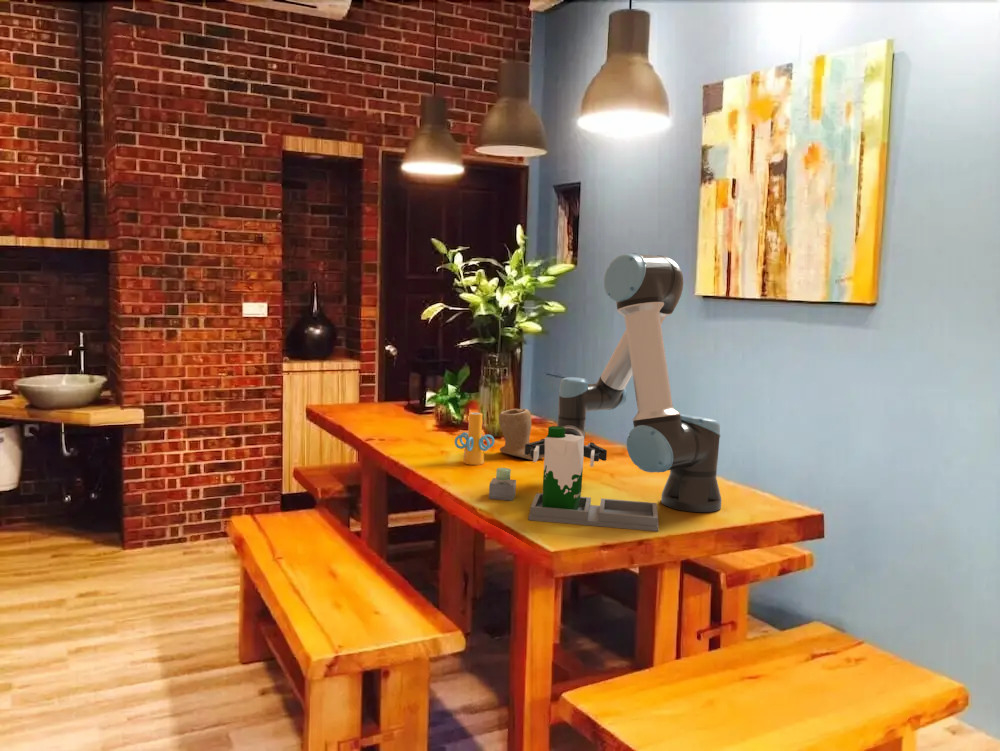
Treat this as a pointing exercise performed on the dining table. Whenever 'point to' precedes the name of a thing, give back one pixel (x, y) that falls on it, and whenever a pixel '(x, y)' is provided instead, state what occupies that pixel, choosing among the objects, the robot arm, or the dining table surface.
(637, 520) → the pocket tray
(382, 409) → the dining table surface
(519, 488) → the dining table surface
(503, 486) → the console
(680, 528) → the dining table surface
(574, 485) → the soya milk
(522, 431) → the brown boot
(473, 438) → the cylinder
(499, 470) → the button
